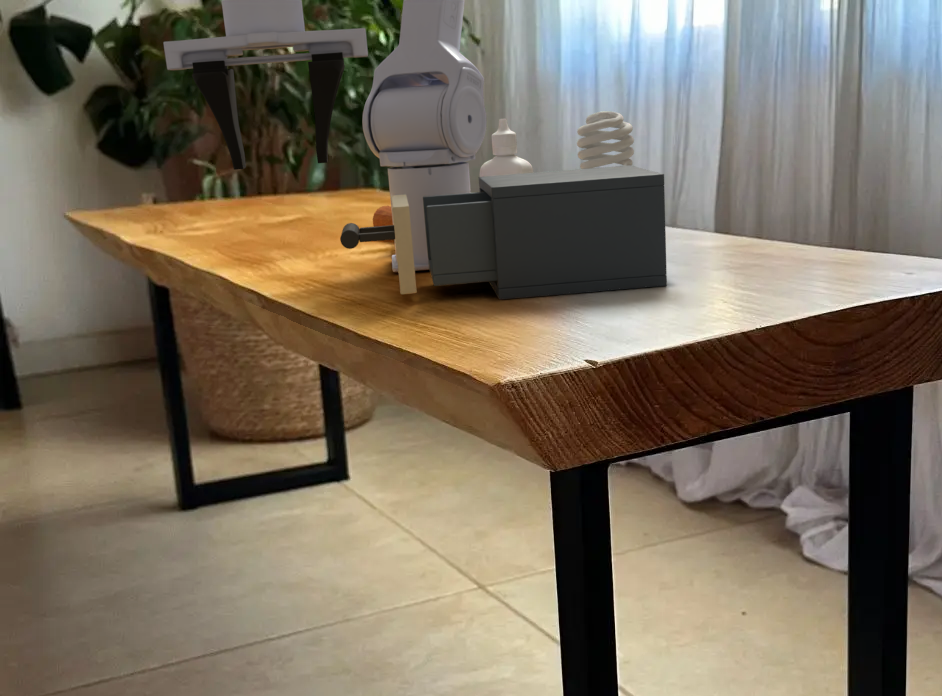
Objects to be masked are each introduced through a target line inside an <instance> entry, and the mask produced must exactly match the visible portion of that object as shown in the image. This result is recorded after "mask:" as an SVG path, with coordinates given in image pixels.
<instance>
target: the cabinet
mask: <svg viewBox="0 0 942 696" xmlns="http://www.w3.org/2000/svg"><path fill="white" fill-rule="evenodd" d="M478 192H486V193H487V194H488V195H489V196H490V197H491V198H492V214H493V228H494V243H495V257H496V272H497V281H490V282H488V283H489V285H490V287H491V288H492V290H493V291H494V293H495V295H496V297H497V298H498V300H501V301H503V300H512V299H524V298H536V297H537V298H538V297H549V296H560V295H574V294H584V293H585V294H586V293H597V292H610V291H621V290H632V289H633V290H635V289H644V288H656V287H657V288H658V287H666V286H667V285H668V277H667V274H668V273H667V272H668V271H667V240H666V239H667V237H666V236H667V235H666V199H665V198H666V197H665V196H666V195H665V194H666V193H665V174H664V173H661V172H657V171H653V170H649V169H646V168H643V167H639V166H634V165H632V166H631V165H627V166H624V165H615V166H614V165H613V166H600V167H595V168H588V169H581V168H575V169H564V170H563V169H561V170H549V171H538V172H537V171H536V172H533V173H523V174H509V175H496V176H483V177H480V176H478Z"/></svg>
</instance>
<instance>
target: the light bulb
mask: <svg viewBox="0 0 942 696" xmlns="http://www.w3.org/2000/svg"><path fill="white" fill-rule="evenodd" d="M624 120H625V119H624V116H623V115H622V114H621V113H619V112H617V111H612V110H604V111H603V110H601V111H597V112H594V113H592V114H589V115H587V116H586V119H585V124H584V125H581V126H579V128H578V129H577V131H576V132H577V133H576V134H577V135H578V136H580V137H581V138H579V139H578V140H576V141H577V142H576V146H577V147H578V148H579V149H581V150H579V151H578V152H577V158H578V159H580V160H582V161H583V162H581V163H580V165H579V169H588V168H600V167H605V166H607V165H608V166H609V165H612V164H617V165H621V166H627V165H631V166H633V160H632V159H631V158H632V156H633V155H634V154H635V149H634V148H633V147H632V145H633V144H634V143H635V139H634V136H632V135H631V133H632V132H633V129H634V127H633V125H632V124H631V123H629V122H627V121H624ZM608 128H614V129H613V130H604V129H608ZM610 140H611V141H612V140H613V141H615V140H616V141H615V142H606V141H610ZM612 152H616V153H617V154H607V153H612Z"/></svg>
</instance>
